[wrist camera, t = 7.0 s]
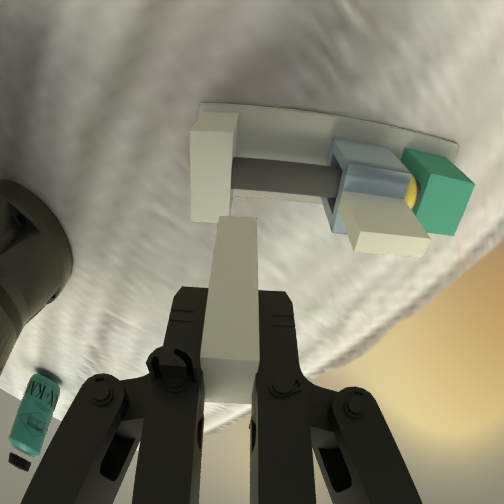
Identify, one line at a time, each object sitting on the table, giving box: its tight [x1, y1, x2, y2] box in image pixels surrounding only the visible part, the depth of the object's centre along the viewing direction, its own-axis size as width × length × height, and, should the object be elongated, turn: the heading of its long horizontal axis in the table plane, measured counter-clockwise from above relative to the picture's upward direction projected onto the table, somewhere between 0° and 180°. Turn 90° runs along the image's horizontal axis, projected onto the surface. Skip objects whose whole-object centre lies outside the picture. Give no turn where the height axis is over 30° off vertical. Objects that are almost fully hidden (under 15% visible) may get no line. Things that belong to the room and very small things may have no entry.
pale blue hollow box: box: [321, 137, 430, 257], centre depth 18 cm, size 4×5×9 cm
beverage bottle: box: [9, 374, 60, 472], centre depth 40 cm, size 6×7×20 cm
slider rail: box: [190, 103, 475, 236], centre depth 21 cm, size 20×7×5 cm, turn 86°
